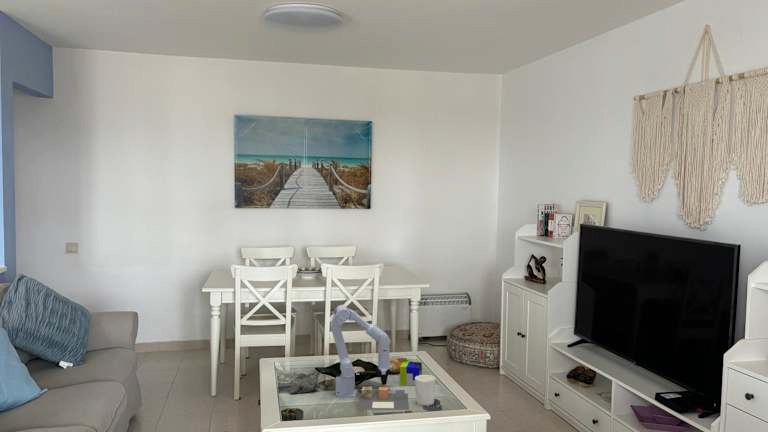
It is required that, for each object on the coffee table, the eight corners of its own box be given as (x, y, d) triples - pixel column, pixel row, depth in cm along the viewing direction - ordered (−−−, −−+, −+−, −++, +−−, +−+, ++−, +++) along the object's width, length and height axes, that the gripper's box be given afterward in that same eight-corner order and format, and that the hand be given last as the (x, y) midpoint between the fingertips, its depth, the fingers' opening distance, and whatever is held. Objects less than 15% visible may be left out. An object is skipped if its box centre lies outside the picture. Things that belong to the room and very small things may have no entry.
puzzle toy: (419, 386, 299) (419, 367, 299) (400, 385, 301) (400, 366, 301) (421, 380, 309) (421, 362, 308) (403, 379, 311) (403, 361, 310)
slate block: (395, 399, 280) (395, 390, 280) (395, 396, 284) (395, 386, 284) (404, 399, 280) (404, 390, 280) (404, 396, 284) (404, 387, 284)
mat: (356, 410, 266) (356, 409, 266) (359, 393, 288) (359, 393, 288) (408, 410, 266) (408, 409, 266) (407, 394, 288) (407, 393, 288)
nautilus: (421, 369, 330) (417, 379, 315) (384, 365, 334) (378, 374, 319) (421, 356, 329) (418, 365, 315) (384, 352, 333) (379, 360, 319)
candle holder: (421, 407, 269) (421, 382, 269) (411, 401, 278) (411, 376, 277) (439, 404, 274) (439, 379, 273) (428, 398, 282) (428, 373, 282)
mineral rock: (320, 390, 293) (320, 371, 293) (310, 397, 283) (310, 377, 283) (298, 387, 298) (297, 368, 298) (287, 394, 288) (287, 374, 288)
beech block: (362, 399, 280) (362, 389, 280) (362, 395, 285) (362, 386, 284) (371, 399, 280) (371, 389, 280) (371, 395, 284) (371, 386, 284)
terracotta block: (378, 399, 280) (378, 389, 280) (379, 395, 284) (379, 386, 284) (388, 399, 280) (388, 389, 280) (388, 395, 284) (388, 386, 284)
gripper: (391, 361, 283) (391, 389, 284) (391, 353, 298) (392, 379, 298) (377, 361, 283) (377, 389, 284) (378, 353, 298) (378, 379, 298)
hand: (384, 384), depth 291 cm, fingers closed
